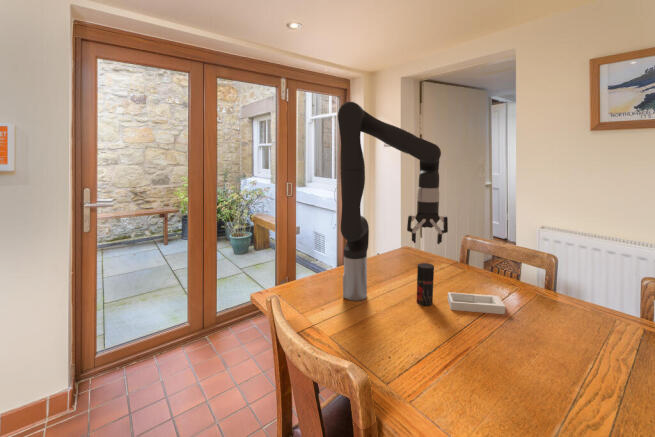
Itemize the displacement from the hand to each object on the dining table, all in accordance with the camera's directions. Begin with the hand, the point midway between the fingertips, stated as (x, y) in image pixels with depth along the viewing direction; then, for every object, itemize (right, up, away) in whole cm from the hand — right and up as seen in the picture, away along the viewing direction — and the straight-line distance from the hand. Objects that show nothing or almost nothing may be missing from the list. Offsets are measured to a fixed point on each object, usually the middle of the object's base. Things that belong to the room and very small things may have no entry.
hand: (426, 243), depth 118 cm
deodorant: (+1, -24, +4) cm, 24 cm away
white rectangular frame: (+18, -24, 0) cm, 30 cm away
